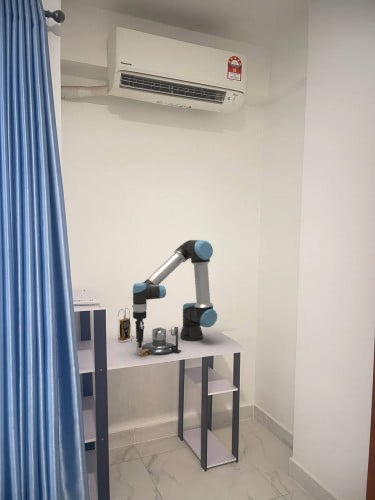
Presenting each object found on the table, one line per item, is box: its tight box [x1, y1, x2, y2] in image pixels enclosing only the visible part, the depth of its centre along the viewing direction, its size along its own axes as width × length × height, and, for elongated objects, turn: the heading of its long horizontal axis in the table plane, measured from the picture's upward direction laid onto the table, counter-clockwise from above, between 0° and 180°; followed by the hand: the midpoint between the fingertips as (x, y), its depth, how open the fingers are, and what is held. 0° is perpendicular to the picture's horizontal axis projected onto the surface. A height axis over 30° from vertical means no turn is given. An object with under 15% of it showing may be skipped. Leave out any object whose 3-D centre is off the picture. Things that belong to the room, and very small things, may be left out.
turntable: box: [140, 341, 176, 357], centre depth 213 cm, size 24×20×2 cm
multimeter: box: [117, 307, 136, 343], centre depth 235 cm, size 15×10×20 cm
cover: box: [150, 327, 169, 350], centre depth 214 cm, size 11×11×11 cm
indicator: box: [167, 326, 182, 354], centre depth 211 cm, size 7×5×14 cm
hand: (139, 352), depth 205 cm, fingers closed
